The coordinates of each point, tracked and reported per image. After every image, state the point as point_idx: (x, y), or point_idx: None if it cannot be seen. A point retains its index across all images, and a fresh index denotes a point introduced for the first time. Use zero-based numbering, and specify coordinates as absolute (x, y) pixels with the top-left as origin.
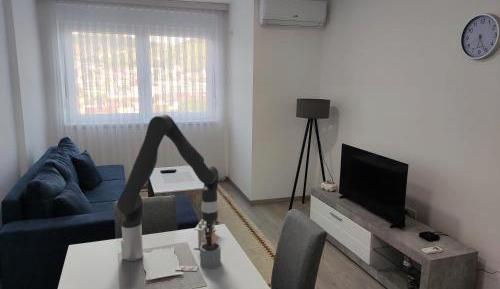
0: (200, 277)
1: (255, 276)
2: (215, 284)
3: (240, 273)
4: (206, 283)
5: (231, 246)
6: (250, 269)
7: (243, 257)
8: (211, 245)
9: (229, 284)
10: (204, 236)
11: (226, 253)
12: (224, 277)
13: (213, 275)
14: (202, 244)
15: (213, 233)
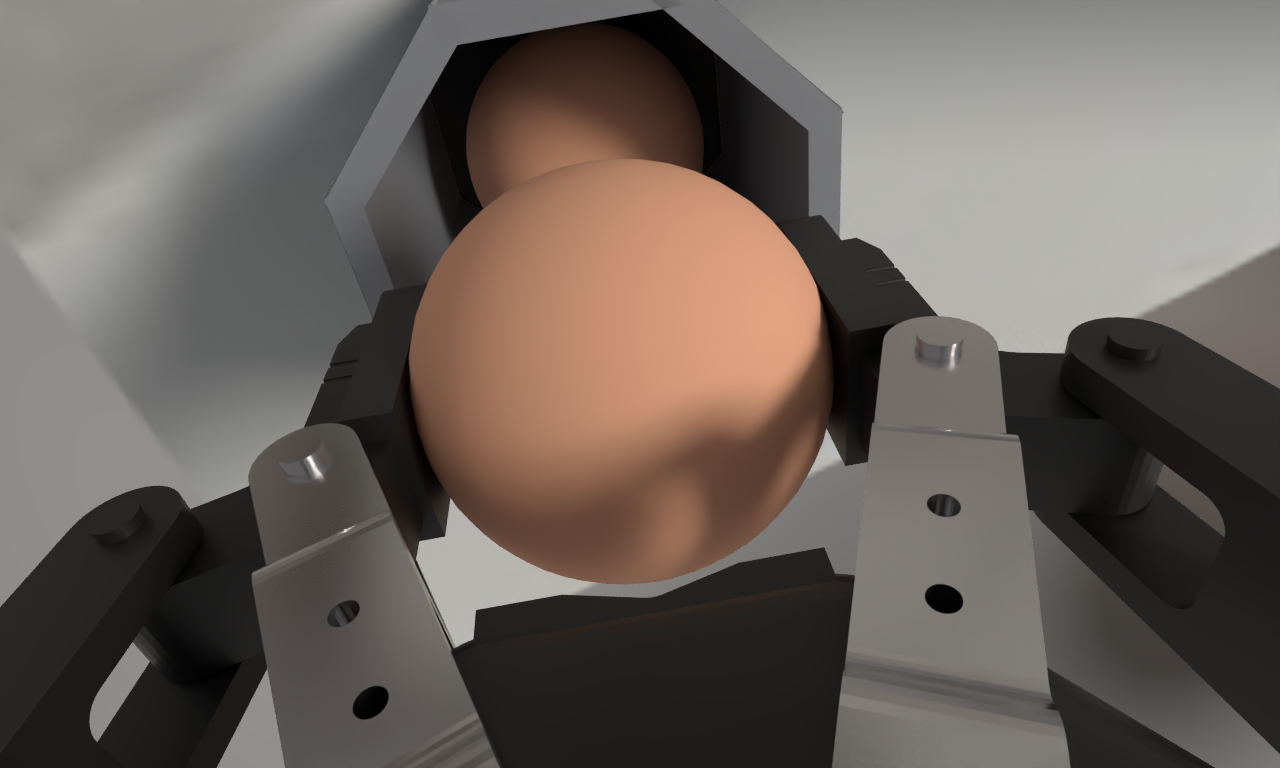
0: (122, 86)
1: (455, 634)
2: (92, 351)
3: (459, 521)
4: (33, 234)
5: (1121, 270)
6: (568, 577)
7: (812, 469)
8: (785, 185)
9: (192, 484)
10: (540, 258)
11: (916, 260)
12: (303, 401)
13: (280, 263)
14: (669, 1)
15: (668, 576)
